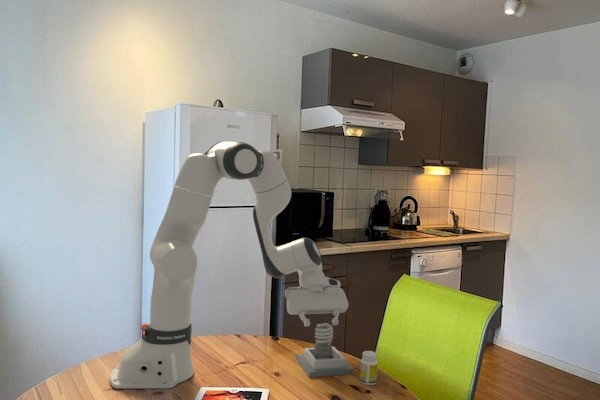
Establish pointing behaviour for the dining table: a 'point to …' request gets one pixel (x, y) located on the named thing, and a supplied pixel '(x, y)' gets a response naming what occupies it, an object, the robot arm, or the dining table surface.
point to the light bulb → (322, 346)
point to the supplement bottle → (368, 368)
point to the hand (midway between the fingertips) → (321, 325)
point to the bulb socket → (323, 363)
